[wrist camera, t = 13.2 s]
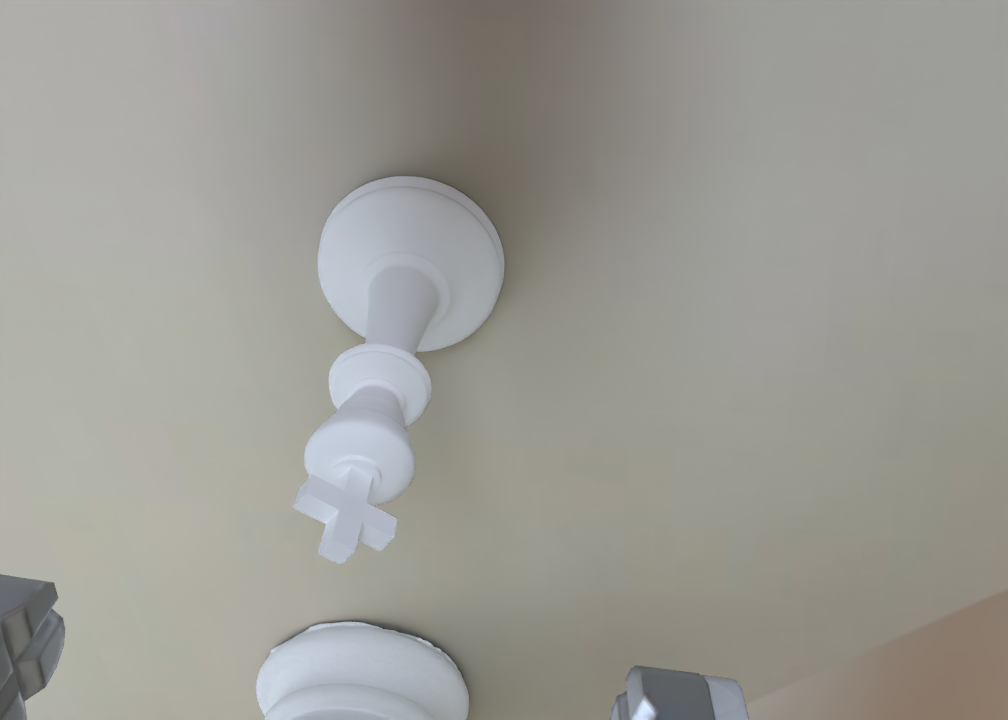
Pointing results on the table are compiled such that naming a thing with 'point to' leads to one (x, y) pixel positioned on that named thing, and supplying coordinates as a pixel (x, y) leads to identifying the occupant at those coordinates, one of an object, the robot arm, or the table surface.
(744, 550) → the table surface
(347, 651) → the cherub figurine
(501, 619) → the table surface
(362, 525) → the chess piece
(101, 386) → the table surface
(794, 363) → the table surface
